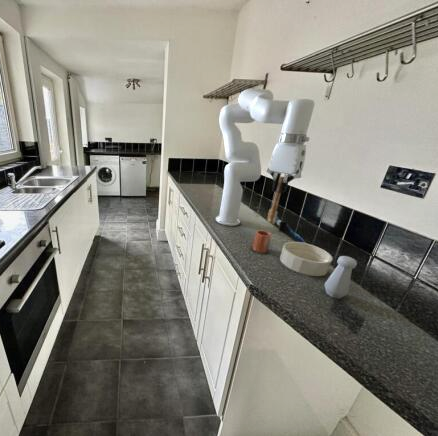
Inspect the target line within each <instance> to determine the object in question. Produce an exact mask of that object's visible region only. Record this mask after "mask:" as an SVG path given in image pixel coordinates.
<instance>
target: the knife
mask: <svg viewBox="0 0 438 436" xmlns="http://www.w3.org/2000/svg"><path fill="white" fill-rule="evenodd" d="M275 224H277V225H278V226H279V229H278V230H279V231H282V232H285V233H287V235H289V236H290V237H291V238H292V239H293V240H294V241H295V242H301V243H306V241H305V240H304V238H303V237H302V236H300V235H299V234H298V233H297V232H295V231H294V230H293V229H292V228H291V227H290V226H289V224H288V222H287V221H282V220H281V219H280V218H279V216H278V215H277V216H276V220H275Z"/></svg>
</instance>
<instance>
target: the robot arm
mask: <svg viewBox="0 0 438 436" xmlns="http://www.w3.org/2000/svg"><path fill="white" fill-rule="evenodd" d="M237 99H238V100H237V101H238V103H230V104H229V103H228V104H226V105H224V106H223V107H222V108H221V109H220V112H219V118H218V119H219V121H218V122H219V128H220V130H221V133H222V136H223V144H224V153H225V158H226V160H228V161H231V162H229V163H228V164H226V165H225V167H224V169H223V179H224V180H223V181H224V183H223V190H222V197H221V202H220V208H219V213H218V215H217V216H215V221H216V222H217V223H218V224H220V225H222V226H223V225H224V226H229V227H235V226H239V225H240V224H241V220H240V219H239V213H240V210H241V203H242V199H243V193H244V189H243V187H242V185H241V183H243V182H245V183H246V182H247V183H248V182H249V183H250V182H256V181H258V180H259V179H260V178H261V175H262V164H261V157H260V156H261V155H260V149H259V146H258V145H257V144H256V142H251V141H243V139H242V133H241V130H240V128H239V127H238V126H237V125H236V124H252V123H254V122H255V121H256V122H259V123H262V124H274V125H276V124H277V125H282V127H281V132H280V135H279V140H278V142H277V143H276V145H275V146H274V148H273V150H272V154H271V157H270V161H269V164H268V168H267V169H266V173H268V174H270V176H271V177H272V180H273V183H272V186H271V188H272V190H271V192H276V188H277V184H278V180H279V177H282V174H284V175H283V177H284V179H283V182H281V185H280V188H279V193H281V194H283V193H285V192H286V191H287V190H288V187H289V183H290V182H291V181H293V180H296V179H301V178H302V172H303V169H304V165H305V161H306V155H307V145H306V144H305V143H306V142H309V141H310V137H309V136H307V133H308V129H309V126H310V123H311V120H312V115H313V112H314V108H315V101H314V100H313V99H309V98H296V99H292V100H279V99H278V100H277V99H274V93H273V92H272V91H271V90H270V89H266V88H264V89H263V88H246V89H245V90H243V91H242V92H241V93H240V94H239V95H238V98H237Z"/></svg>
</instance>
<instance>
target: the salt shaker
mask: <svg viewBox="0 0 438 436" xmlns="http://www.w3.org/2000/svg"><path fill="white" fill-rule="evenodd" d="M336 263H337V266H336V267H335V268H334V270H333V271H332V272H331V274H330V276H328V278H327V280H326V281H325V282H324V285H323V286H324V290H325V294H326V295H328V296H330V297H331V298H333V299H338V300H340V299H341V298H343V297H345V296H347V295H348V293H349V289H350V284H351V279H352V278H351V277H352V271H353V269H355V268H356V267H357V265H358V262H357V260H356V259H355V258H352V257H350V256H348V255H340V256H339V257H338V259H337V261H336Z"/></svg>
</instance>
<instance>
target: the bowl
mask: <svg viewBox="0 0 438 436" xmlns="http://www.w3.org/2000/svg"><path fill="white" fill-rule="evenodd" d="M333 259H334V258H333V256H332V255H331V254H330V252H327V251H326V250H325V249H323V248H321V247H319V246H316V245H313V244H309V243H306V242H305V243H301V242H297V241H287V242H285V243H284V244H283V246H282V249H281V252H280V256H279V260H280V262H281V263H282V264H283V265H284V266H285V267H287V268H288V269H289V270H292V271H294V272H296V273H299V274H302V275H306V276H310V277H322V276H326V275H327V274H328V273H329V270H330V267H331V266H332V262H333Z"/></svg>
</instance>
